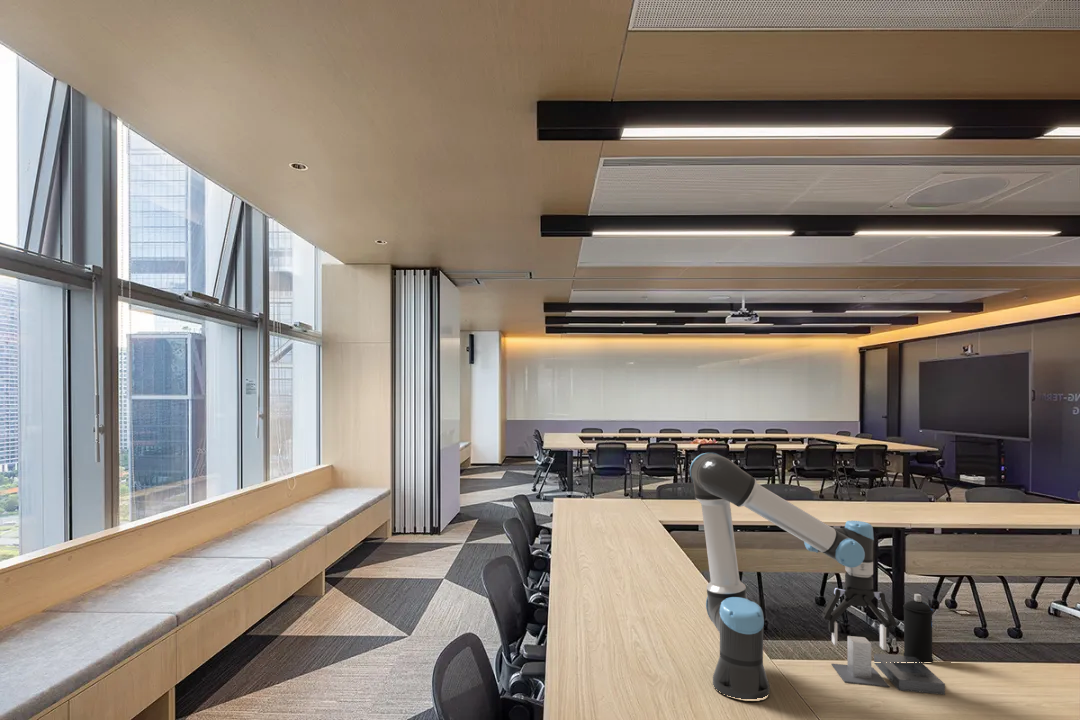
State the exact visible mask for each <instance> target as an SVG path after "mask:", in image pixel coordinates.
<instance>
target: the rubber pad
mask: <svg viewBox="0 0 1080 720" xmlns="http://www.w3.org/2000/svg"><path fill="white" fill-rule="evenodd" d="M830 666H832V668H833V669H834V670H835V672H836V673H837V675H839V677H840V678H841V679H842V681H843V682H844V683H845V684H853V685H855V684H856V685H863V686H864V685H865V686H875V687H885V688H889V687H890V685H889V684H888V682H887V681H885V679H884V678H883V677H882V676H881V674H879V673H878V671H877V670H876V669H875V667H873V666H871V679H869V678H858V677H853V676H852V675H851V673H850V672H849V671H848V670H847V664H843V663H841V664H840V663H831V665H830Z"/></svg>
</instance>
